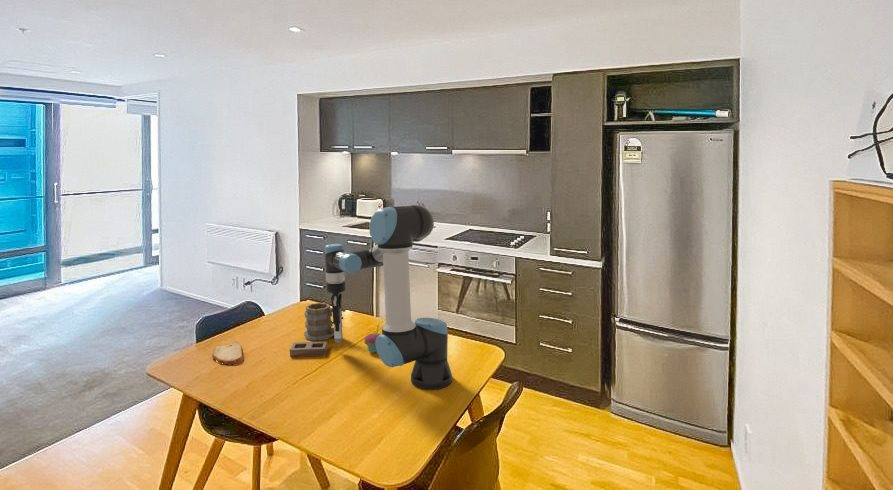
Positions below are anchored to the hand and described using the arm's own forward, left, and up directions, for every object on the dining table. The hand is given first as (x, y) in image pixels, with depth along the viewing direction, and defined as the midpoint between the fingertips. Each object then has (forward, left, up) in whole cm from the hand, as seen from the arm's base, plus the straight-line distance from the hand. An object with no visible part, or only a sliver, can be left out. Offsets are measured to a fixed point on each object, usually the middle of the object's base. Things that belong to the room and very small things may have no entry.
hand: (338, 336), depth 207 cm
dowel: (0, 0, -2) cm, 2 cm away
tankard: (+19, +8, -7) cm, 21 cm away
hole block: (+1, +12, -7) cm, 14 cm away
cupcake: (+1, -15, -7) cm, 16 cm away
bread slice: (+1, +44, -7) cm, 45 cm away
